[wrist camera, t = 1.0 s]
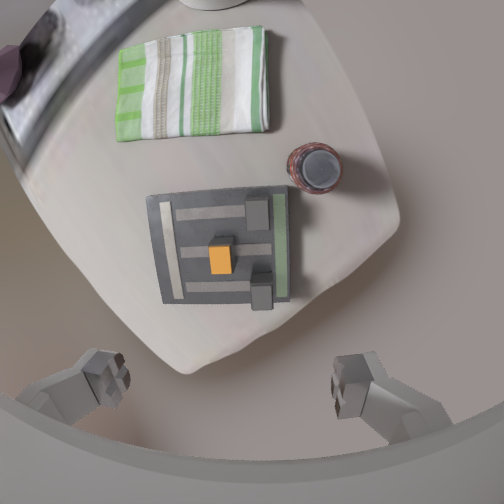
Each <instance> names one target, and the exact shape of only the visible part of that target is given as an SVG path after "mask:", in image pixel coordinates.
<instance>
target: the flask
mask: <svg viewBox="0 0 504 504" xmlns="http://www.w3.org/2000/svg"><path fill="white" fill-rule="evenodd" d="M21 76H22V60H21V55H20V50H19V46H13V45H7V46H6V47H4V48H3V49H2V50H0V105H1V104H2V103H3V102H4V101H5V100H6V99H7V98H8V97H9V96H10V95H11V94H12V93H13V92H14V91H15V90H16V88H17V86H18V83H19V81H20V78H21Z"/></svg>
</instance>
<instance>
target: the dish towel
mask: <svg viewBox="0 0 504 504" xmlns="http://www.w3.org/2000/svg"><path fill="white" fill-rule="evenodd" d="M269 106H270V105H269V87H268V38H267V33H266V32H265V28H263V27H262V26H261V25H260V26H252V27H239V28H232V29H211V30H210V29H209V30H201V31H196V32H191V33H187V34H183V35H177V36H170V37H164V38H160V39H157V40H154V41H150V42H147V43H142V44H139V45H135V46H132V47H129V48H125V49H121V50H120V52H119V80H118V99H117V109H116V116H115V122H116V135H117V142H127V141H134V140H143V139H165V138H171V137H180V136H205V135H222V134H230V133H248V132H264V131H265V130H269Z"/></svg>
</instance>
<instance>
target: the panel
mask: <svg viewBox="0 0 504 504" xmlns="http://www.w3.org/2000/svg"><path fill="white" fill-rule="evenodd" d="M254 195H269V205H270V226H271V230H266V231H246V220H245V205H244V199H245V197H246V196H254ZM146 205H147V213H148V221H149V228H150V235H151V241H152V248H153V254H154V259H155V265H156V271H157V276H158V281H159V286H160V291H161V296H162V301H163V304H243V303H251V294H250V279H251V273H272V277H273V303H276V302H290V255H289V214H288V188H287V185H279V186H256V187H239V188H224V189H211V190H199V191H188V192H178V193H168V194H159V195H151V196H148V197H146ZM218 237H234V240H235V252H236V267H235V271H234V273H232V274H211V268H210V260H209V251H208V244H209V242H210V241H211V240H212V238H218Z"/></svg>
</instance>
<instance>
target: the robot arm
mask: <svg viewBox="0 0 504 504" xmlns="http://www.w3.org/2000/svg"><path fill="white" fill-rule="evenodd" d="M179 1H181V2H182V3H183V4H185V5H187V6H189V7H191V8H195V9H200V10H218V9H224V8H229V7H233V6H236V5H238V4H241V3H243V2H245V1H247V0H179ZM124 363H125V360H124V357H123V355H122V354H121V353H118V352H112V351H106V350H100V349H94V348H90V349H88V350H87V352H86V353H85V354H84V355H83V356H82V357H81V358H80V359H79V360H78V361H77V362H76V364H75V365H74V366H73V367H72V368H67V369H65V370H63V371H60V372H58V373H56V374H53V375H51V376H48V377H46V378H44V379H41V380H39V381H36V382H34V383H31V384H29V385H28V386H26V387H25V389H24V390H23V391H22V392H21V393H20V394H19V395H18V396H17V397H16V398H15V400H14V399H12V398H10V397H9V396H7V395H5V394H3V393H2V392H0V504H504V401H503V402H501V403H499V404H497V405H495V406H494V407H492V408H490V409H488V410H486V411H484V412H482V413H479V414H477V415H475V416H473V417H471V418H469V419H466V420H464V421H462V422H459V423H457V424H454V425H453V423H452V421H451V419H450V418H449V416H448V414H447V412H446V411H445V409H444V407H443V406H442V404H441V403H440V402H438V401H436V400H434V399H432V398H430V397H428V396H427V395H425V394H423V393H421V392H419V391H417V390H415V389H413V388H411V387H409V386H407V385H406V384H404V383H402V382H400V381H398V380H396V379H394V378H389V377H388V375H387V373H386V371H385V369H384V368H383V365H382V364H381V362H380V360H379V358H378V356H377V354H376V353H375V352H374V351H372V352H366V353H361V354H354V355H345V356H336V357H335V358H334V362H333V367H334V372H333V373H332V377H331V393H332V397H333V398H334V399H335V400H336V402H335V410H336V414H337V417H338V419H345V418H353V417H361V419H363V420H364V421H365V422H366V423H367V424H368V425H369V426H370V427H372V428H373V429H374V430H375V431H376V432H377V433H379V434H380V435H381V436H382V437H383V438H384V439H386V440H387V441H388V442H389V444H388V446H385V447H380V448H376V449H371V450H366V451H361V452H356V453H350V454H343V455H337V456H330V457H321V458H310V459H298V460H277V461H245V460H225V459H211V458H202V457H194V456H186V455H179V454H173V453H166V452H161V451H156V450H151V449H146V448H142V447H138V446H133V445H130V444H126V443H122V442H118V441H115V440H111V439H107V438H104V437H101V436H98V435H95V434H92V433H89V432H86V431H83V430H81V429H77V428H75V427H72V426H71V425H72V424H74V423H75V422H77V421H78V420H80V419H81V418H83V417H84V416H86V415H87V414H89V413H90V412H91V411H93V410H94V409H96V408H97V407H99V406H100V405H102V406H107V407H111V408H116V409H117V407H118V405H119V404H120V402H121V400H122V398H123V397H122V393H124V392H126V391H127V390H128V388H129V386H130V381H131V379H130V373H129V370H128V369H127V368H126V367H125V366H124Z"/></svg>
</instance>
